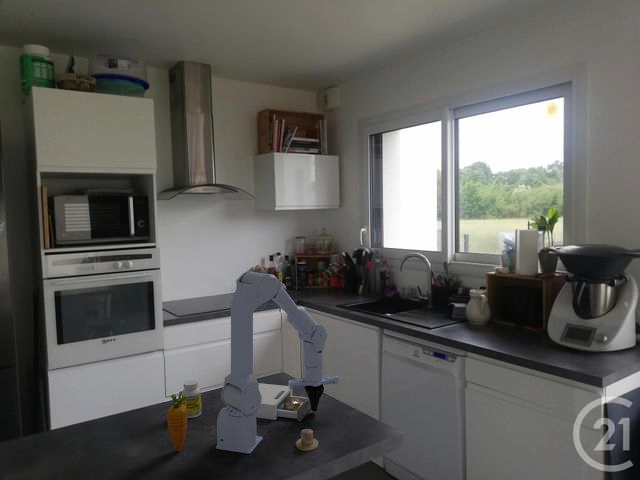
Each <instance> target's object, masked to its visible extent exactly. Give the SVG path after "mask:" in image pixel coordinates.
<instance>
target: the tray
mask: <svg viewBox="0 0 640 480" xmlns="http://www.w3.org/2000/svg"><path fill="white" fill-rule="evenodd" d="M290 398H296V399H299V400H300V408H299V409H298V410H294V411H289V410H285V409H284V405H283V402H284V400H286V399H290ZM310 410H311V404H310V400H309V397H308V396H306V397H305V396H296V395H292V396H289V395H287V396H286V397H285V398H284V399H283V400H282V401H281V402H280V403H279V404H278V406H277V417H281V418H282V417H283V418H288V419H289V418H290V419H296V421H297V422H302V420H303V419H304V418H305V416H306V415H307V414H308V412H309V411H310Z"/></svg>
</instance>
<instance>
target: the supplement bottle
mask: <svg viewBox="0 0 640 480" xmlns="http://www.w3.org/2000/svg"><path fill="white" fill-rule="evenodd" d="M198 386H199V381H197V380H195V379H193V380H191V379H190V380H186V381H184V382H183V388H184V389H183V390H182V395H181V398H182V397H184V396H186V397H187V398H185V399H184V400H183V401H182V403H181V405H184V406H186V408H187V411H188V419H193V418H197V417H199V416H201V415H202V412H203V411H202V394H201V393H202V392H201V389H200V387H198Z"/></svg>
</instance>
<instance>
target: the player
mask: <svg viewBox="0 0 640 480" xmlns="http://www.w3.org/2000/svg"><path fill="white" fill-rule="evenodd" d="M258 383H259V382H258ZM259 391H260V393H261V396H262V400H261V404H260V407H259V408H258V410H257V412H256V419H266V420H275V421H276V420H277V419H278V416H277V406H278V404H279V403H280V402H281V401H282V400H283V399H284V398H285V397H286V396H287V395H289V396H293V389H289V387H288V385H280V384H279V385H278V384H270V383H269V384H268V383H259Z"/></svg>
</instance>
